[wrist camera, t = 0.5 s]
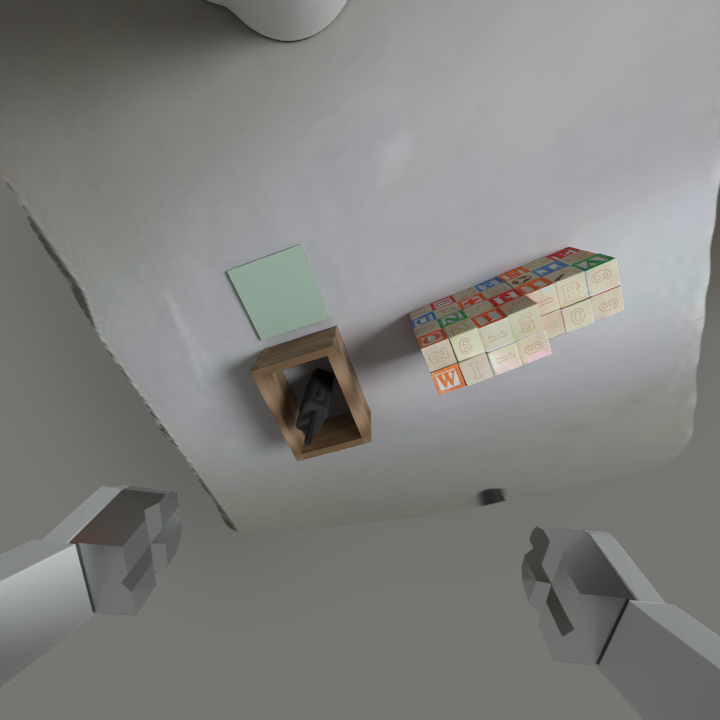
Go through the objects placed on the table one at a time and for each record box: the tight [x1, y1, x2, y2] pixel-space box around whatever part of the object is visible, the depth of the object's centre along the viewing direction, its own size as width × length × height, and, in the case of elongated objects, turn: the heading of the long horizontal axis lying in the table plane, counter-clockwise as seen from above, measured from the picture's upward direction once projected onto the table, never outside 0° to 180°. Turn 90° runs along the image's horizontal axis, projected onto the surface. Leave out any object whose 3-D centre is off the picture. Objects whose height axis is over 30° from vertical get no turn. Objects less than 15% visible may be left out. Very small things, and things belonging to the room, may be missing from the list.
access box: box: [250, 326, 371, 461], centre depth 49 cm, size 15×11×7 cm
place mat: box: [227, 245, 329, 340], centre depth 46 cm, size 10×10×1 cm
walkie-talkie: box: [296, 369, 334, 445], centre depth 45 cm, size 5×3×15 cm
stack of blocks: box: [409, 247, 624, 395], centre depth 41 cm, size 21×6×12 cm, turn 114°
